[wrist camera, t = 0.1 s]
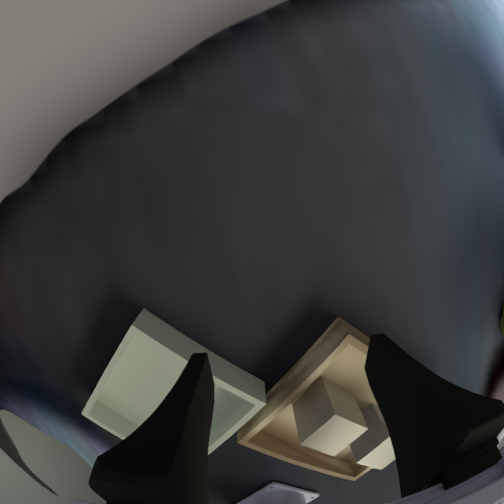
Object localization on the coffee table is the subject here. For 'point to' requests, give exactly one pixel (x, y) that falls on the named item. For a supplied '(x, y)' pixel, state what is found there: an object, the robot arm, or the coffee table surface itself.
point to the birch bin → (296, 384)
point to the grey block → (373, 441)
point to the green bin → (167, 382)
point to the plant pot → (502, 322)
